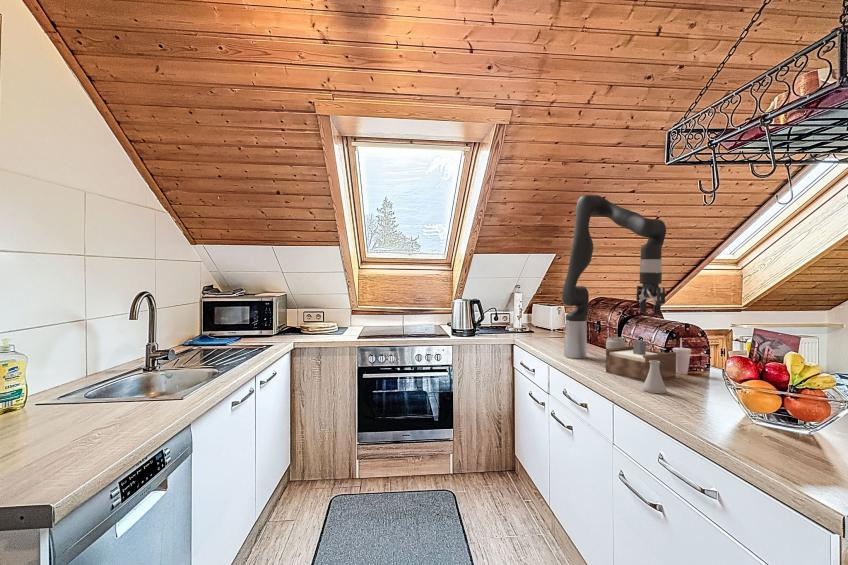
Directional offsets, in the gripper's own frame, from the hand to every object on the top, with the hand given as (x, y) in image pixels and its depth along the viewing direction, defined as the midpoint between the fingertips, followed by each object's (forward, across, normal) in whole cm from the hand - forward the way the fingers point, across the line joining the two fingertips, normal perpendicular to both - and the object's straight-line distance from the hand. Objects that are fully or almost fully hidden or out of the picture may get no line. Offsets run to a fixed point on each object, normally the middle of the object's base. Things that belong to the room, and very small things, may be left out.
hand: (649, 313), depth 164 cm
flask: (+24, +22, -12) cm, 34 cm away
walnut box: (+24, 0, -3) cm, 24 cm away
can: (+24, -18, -3) cm, 31 cm away
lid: (+17, 0, -4) cm, 17 cm away
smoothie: (+24, -1, +14) cm, 28 cm away
